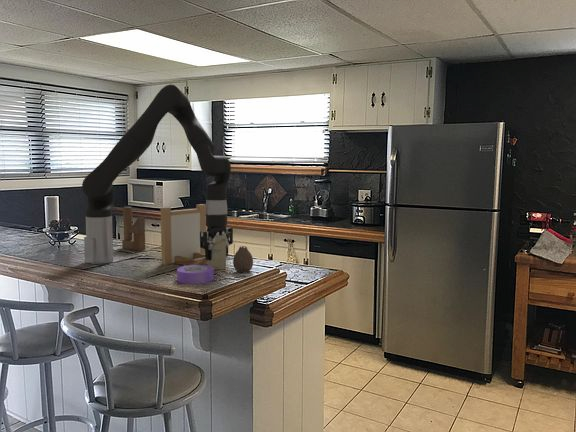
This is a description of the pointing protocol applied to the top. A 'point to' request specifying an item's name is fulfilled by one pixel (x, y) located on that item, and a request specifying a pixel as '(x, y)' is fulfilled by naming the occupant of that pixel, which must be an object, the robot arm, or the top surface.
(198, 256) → the rail slot
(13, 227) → the top surface
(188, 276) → the masking tape
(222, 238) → the skincare box
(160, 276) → the top surface
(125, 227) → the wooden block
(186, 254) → the headboard panel
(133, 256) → the top surface
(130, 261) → the top surface
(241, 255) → the vase
